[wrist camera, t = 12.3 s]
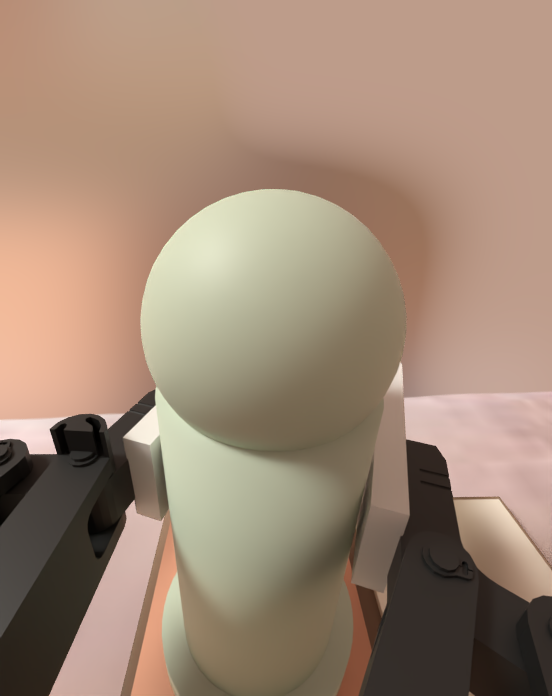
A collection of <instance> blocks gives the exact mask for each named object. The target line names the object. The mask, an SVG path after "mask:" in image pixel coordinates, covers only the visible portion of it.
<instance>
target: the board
mask: <svg viewBox="0 0 552 696" xmlns="http://www.w3.org/2000/svg"><path fill="white" fill-rule="evenodd" d="M453 500H454V506H455V511H456V516H457V522H458V527H459V532H460V538H461V542H462V545H463V548H464V549H465V550H466V551H467V552H468V553H469V554H470V555H471V557H472V559H473V561H474V563H475V565H476V566H477V568H478V569H479V570H480V571H481V572H482V573H483V574H485V575H486V576H487V577H488V578H490V579H491V580H492V581H494V582H495V583H497V584H498V585H500V586H502V587H504V588H505V589H507V590H509V591H510V592H512V593H514V594H516V595H517V596H519V597H521V598H523V599H524V600H526V601H528V602H529V603H530V602H531V601H532V599H534V598H537V597H540V596H543V595H545V596H552V567H551V565H550V564H549V563H548V561H547V560H546V559H545V557H544V556H543V555H542V553H541V552H540V550H539V549H538V548H537V546H536V545H535V544H534V542H533V541H532V540H531V538H530V537H529V536H528V534H527V533H526V532H525V530H524V529H523V528H522V526H521V525H520V524H519V522H518V521H517V520H516V518H515V517H514V516H513V514H512V513H511V512H510V510H509V509H508V508H507V506H506V505H505V504H504V502H503V501H502V500H501V498H500V497H453ZM356 529H357V524H356V528H355V532H354V537H353V541H352V545H351V549H350V554H349V558H348V562H347V566H346V571H345V575H344V581H345V584H346V586H347V589H348V593H349V596H350V600H351V606H352V612H353V641H352V647H351V652H350V657H349V660H348V663H347V667H346V670H345V673H344V677H343V680H342V683H341V686H340V689H339V691H338V693H337V695H336V696H358V695H359V692H360V689H361V685H362V682H363V679H364V675H365V672H366V669H367V665H368V662H369V659H370V656H371V652H372V649H373V646H374V642H375V639H376V636H377V632H378V631H377V630H378V627H379V624H380V621H381V618H382V616H383V613H384V610H385V607H386V604H387V584H386V587H385V590H384V593H381V592H378V591H375V590H372V589H369V588H366V587H362V586H359V585H356V584H353V583H351V579H352V569H353V559H354V549H355V539H356ZM176 573H177V565H176V558H175V550H174V542H173V534H172V527H171V519H170V511H169V510H168V511H167V513H166V514H165V517H164V521H163V525H162V529H161V533H160V537H159V542H158V546H157V550H156V554H155V558H154V562H153V566H152V570H151V574H150V578H149V582H148V586H147V590H146V594H145V598H144V602H143V606H142V610H141V615H140V619H139V623H138V627H137V631H136V635H135V639H134V643H133V647H132V651H131V655H130V659H129V663H128V667H127V671H126V675H125V679H124V683H123V687H122V692H121V696H175V695H174V692H173V690H172V687H171V684H170V680H169V676H168V672H167V667H166V662H165V656H164V651H163V642H162V618H163V611H164V605H165V601H166V597H167V593H168V591H169V588H170V585H171V583H172V580H173V578H174V577H175V575H176ZM469 696H475V695H473V694H472V693H471V692H469Z"/></svg>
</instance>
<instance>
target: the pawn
mask: <svg viewBox="0 0 552 696" xmlns="http://www.w3.org/2000/svg"><path fill="white" fill-rule="evenodd" d="M140 322H141V337H142V344H143V349H144V353H145V358H146V362H147V365H148V367H149V370H150V372H151V375H152V377H153V379H154V381H155V384H156V390H155V402H156V410H157V418H158V426H159V433H160V441H161V449H162V457H163V464H164V472H165V480H166V488H167V495H168V503H169V511H170V519H171V527H172V534H173V542H174V550H175V558H176V565H177V573H176V575H175V577H174V578H173V580H172V583H171V585H170V588H169V591H168V593H167V597H166V601H165V605H164V611H163V618H162V642H163V651H164V656H165V662H166V667H167V672H168V676H169V680H170V684H171V687H172V690H173V692H174V695H175V696H336V695H337V693H338V691H339V689H340V686H341V683H342V680H343V677H344V673H345V670H346V667H347V663H348V660H349V657H350V652H351V647H352V641H353V612H352V606H351V600H350V596H349V593H348V589H347V586H346V584H345V581H344V575H345V571H346V566H347V562H348V558H349V554H350V549H351V545H352V541H353V537H354V532H355V528H356V524H357V520H358V516H359V511H360V507H361V503H362V499H363V494H364V490H365V486H366V482H367V477H368V473H369V469H370V465H371V461H372V456H373V452H374V448H375V444H376V439H377V435H378V431H379V427H380V422H381V418H382V414H383V410H384V398H383V397H384V396H385V394H386V392H387V391H388V389H389V387H390V385H391V383H392V381H393V379H394V377H395V375H396V373H397V370H398V367H399V364H400V361H401V358H402V354H403V349H404V343H405V337H406V310H405V302H404V295H403V291H402V287H401V284H400V280H399V277H398V274H397V272H396V270H395V268H394V265H393V263H392V261H391V259H390V257H389V256H388V254H387V253H386V251H385V250H384V248H383V247H382V245H381V243H380V242H379V241H378V239H376V237H375V236H374V235H373V234H372V233H371V231H370V230H369V229H368V228H367V227H366V226H365V225H364V224H362V223H361V222H360V221H359V220H358V219H357V218H355V217H354V216H353V215H352V214H350V213H348V212H347V211H345V210H344V209H342V208H340V207H339V206H337V205H335V204H334V203H331V202H329V201H327V200H325V199H322V198H320V197H317V196H314V195H310V194H307V193H303V192H299V191H292V190H281V189H262V190H256V191H249V192H243V193H240V194H237V195H233V196H230V197H227V198H224V199H222V200H220V201H218V202H216V203H214V204H212V205H210V206H208V207H206V208H204V209H203V210H202V211H200V212H199V213H197V214H196V215H194V216H193V217H191V218H190V219H189V220H188V221H187V222H186V223H185V224H183V225H182V226H181V227H180V228H179V229H178V230H177V231H176V232H175V234H174V235H173V236H172V238H170V240H169V241H168V242H167V243H166V245H165V246H164V248H163V249H162V251H161V253H160V254H159V256H158V258H157V259H156V261H155V263H154V265H153V267H152V270H151V272H150V275H149V277H148V280H147V284H146V287H145V292H144V296H143V300H142V308H141V319H140Z"/></svg>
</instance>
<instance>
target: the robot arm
mask: <svg viewBox="0 0 552 696" xmlns="http://www.w3.org/2000/svg"><path fill="white" fill-rule="evenodd" d="M402 378H403V376H402V363H400V364H399V367H398V370H397V373H396V375H395V377H394V379H393V381H392V383H391V385H390V387H389V389H388V391H387V392H386V394H385V396H384V397H383V398H384V410H383V414H382V418H381V422H380V427H379V431H378V435H377V439H376V444H375V448H374V452H373V456H372V461H371V465H370V469H369V473H368V477H367V482H366V486H365V490H364V494H363V499H362V503H361V507H360V511H359V516H358V520H357V529H356V539H355V549H354V559H353V569H352V579H351V583H353V584H356V585H359V586H362V587H366V588H369V589H372V590H375V591H378V592H381V593H384V590H385V587H386V584H387V604H386V607H385V610H384V613H383V616H382V618H381V621H380V624H379V627H378V630H377V631H378V632H377V636H376V639H375V642H374V646H373V649H372V652H371V656H370V659H369V662H368V665H367V669H366V672H365V675H364V679H363V682H362V685H361V689H360V692H359V695H358V696H469V692H471V693H472V694H473V695H475V696H552V596H545V595H543V596H540V597H537V598H534V599H532V601H531V602H530V603H529V602H528V601H526V600H524V599H523V598H521V597H519V596H517V595H516V594H514V593H512V592H510V591H509V590H507V589H505V588H504V587H502V586H500V585H498V584H497V583H495V582H494V581H492V580H491V579H490V578H488V577H487V576H486V575H485V574H483V573H482V572H481V571H480V570H479V569H478V568H477V566H476V565H475V563H474V561H473V559H472V557H471V555H470V554H469V553H468V552H467V551H466V550H465V549H464V548H463V545H462V542H461V538H460V532H459V527H458V522H457V516H456V511H455V506H454V500H453V495H452V491H451V484H450V479H449V474H448V468H447V463H446V460H445V458H444V457H443V456H442V454H441V453H440V451H439V450H438V448H437V447H436V446H433V445H429V444H424V443H420V442H415V441H411V440H406V434H405V415H404V396H403V379H402ZM155 390H156V389H155ZM155 390H153V391H151V392H149V393H148V394H147V395H145V396H144V397H143V398H142V399H141V400H140V401H139V402H138V404H135V405H134V406H133V407H132V408H131V409H130V411H129V412H127V413H125V414H124V415H123V416H122V417H121V418H120V419H119V420H118V421H117V422H115V423H114V424H113V425H112V426H111V427H110V428H109V429H107V425H106V421H105V419H103V418H102V417H100V416H99V415H94V414H79V415H76V416H72V417H68V418H66V419H64V420H62V421H60V422H58V423H57V424H55V425H54V426H53V427H52V428H51V429H50V432H51V435H52V439H53V442H54V445H55V448H56V452H57V454H29V451H28V448H27V445H26V443H24V442H23V441H21V440H16V439H7V440H0V696H49V694H50V692H51V690H52V687H53V685H54V683H55V681H56V678H57V676H58V674H59V672H60V669H61V667H62V665H63V663H64V661H65V658H66V656H67V654H68V652H69V649H70V647H71V645H72V643H73V641H74V638H75V636H76V634H77V632H78V629H79V627H80V625H81V623H82V620H83V618H84V616H85V614H86V612H87V609H88V607H89V605H90V603H91V600H92V598H93V596H94V594H95V591H96V589H97V587H98V585H99V583H100V580H101V578H102V576H103V574H104V571H105V569H106V567H107V565H108V562H109V560H110V558H111V556H112V554H113V551H114V549H115V547H116V545H117V542H118V540H119V538H120V536H121V533H122V531H123V529H124V527H125V523H126V514H125V510H126V509H127V508H128V507H129V505H130V504H131V503H132V502H133V500H135V505H136V511H137V513H138V514H141V515H144V516H147V517H150V518H153V519H156V520H159V521H161V520H162V519H163V517H164V516H165V514H166V513H167V511H168V510H169V503H168V495H167V488H166V480H165V472H164V464H163V457H162V449H161V441H160V433H159V426H158V418H157V410H156V402H155Z"/></svg>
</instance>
